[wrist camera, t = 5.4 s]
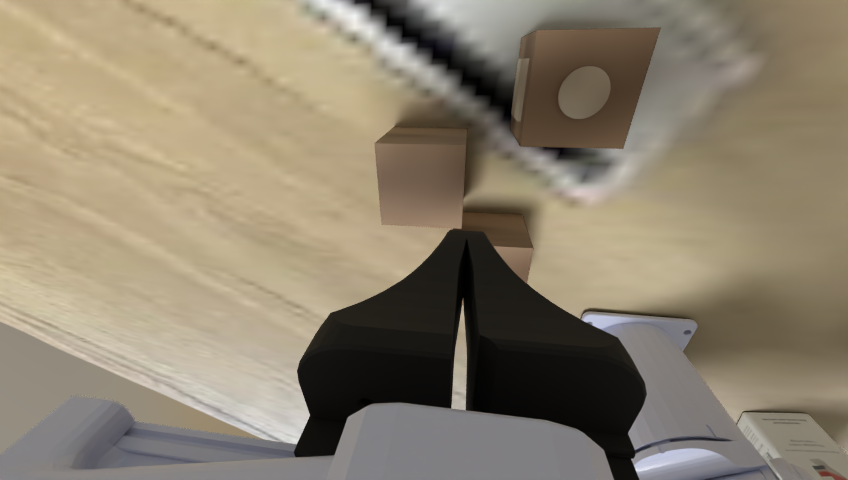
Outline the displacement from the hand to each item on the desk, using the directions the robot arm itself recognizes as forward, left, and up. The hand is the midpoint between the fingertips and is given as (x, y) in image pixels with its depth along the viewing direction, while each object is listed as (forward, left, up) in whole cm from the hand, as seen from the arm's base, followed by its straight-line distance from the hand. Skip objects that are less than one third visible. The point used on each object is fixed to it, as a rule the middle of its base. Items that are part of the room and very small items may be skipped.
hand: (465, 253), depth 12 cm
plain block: (+1, +2, -10) cm, 10 cm away
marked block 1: (+5, -5, -10) cm, 12 cm away
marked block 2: (-5, -2, -10) cm, 11 cm away
